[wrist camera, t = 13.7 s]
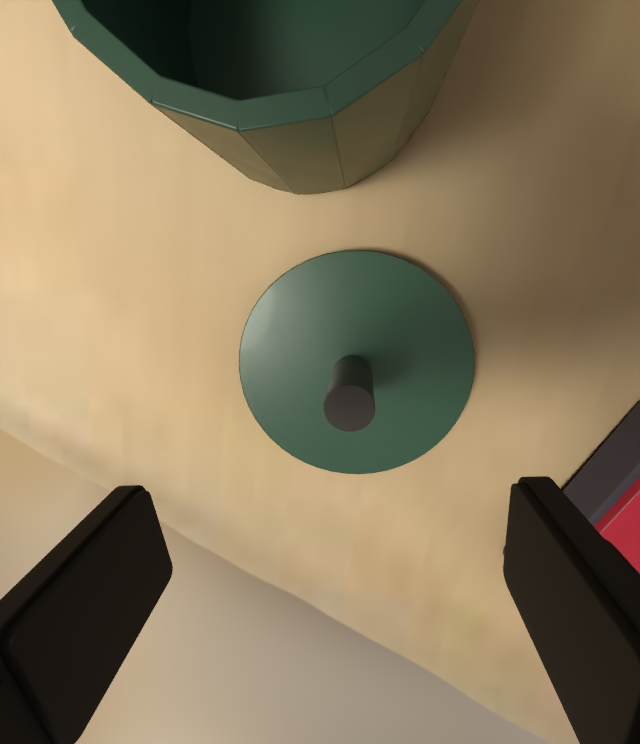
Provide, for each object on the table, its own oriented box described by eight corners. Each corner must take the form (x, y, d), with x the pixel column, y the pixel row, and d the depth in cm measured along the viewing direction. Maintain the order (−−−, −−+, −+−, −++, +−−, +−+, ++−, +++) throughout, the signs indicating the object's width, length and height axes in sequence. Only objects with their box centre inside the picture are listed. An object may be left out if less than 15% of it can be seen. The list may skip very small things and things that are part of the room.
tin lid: (261, 466, 26) (230, 531, 20) (226, 263, 22) (171, 264, 15) (465, 462, 24) (502, 533, 18) (473, 237, 20) (526, 225, 13)
